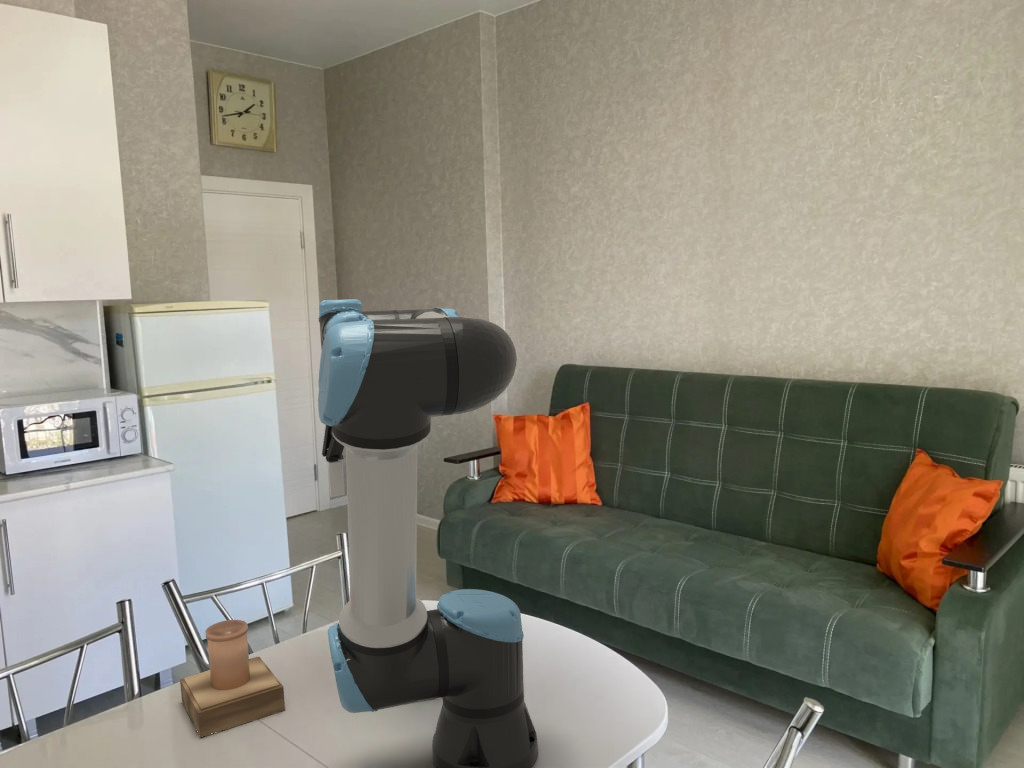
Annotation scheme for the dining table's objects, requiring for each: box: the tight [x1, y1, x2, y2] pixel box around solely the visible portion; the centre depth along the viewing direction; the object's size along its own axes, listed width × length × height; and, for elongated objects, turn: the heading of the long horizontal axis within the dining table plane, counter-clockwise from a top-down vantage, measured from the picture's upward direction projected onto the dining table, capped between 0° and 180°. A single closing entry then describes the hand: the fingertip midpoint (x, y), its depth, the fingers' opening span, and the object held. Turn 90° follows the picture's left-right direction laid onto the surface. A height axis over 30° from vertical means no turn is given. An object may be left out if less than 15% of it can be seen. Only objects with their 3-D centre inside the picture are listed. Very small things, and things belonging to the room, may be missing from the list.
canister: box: [205, 619, 250, 690], centre depth 125 cm, size 6×6×9 cm
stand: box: [179, 656, 286, 738], centre depth 126 cm, size 13×13×4 cm
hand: (351, 503), depth 140 cm, fingers open, 13 cm apart
